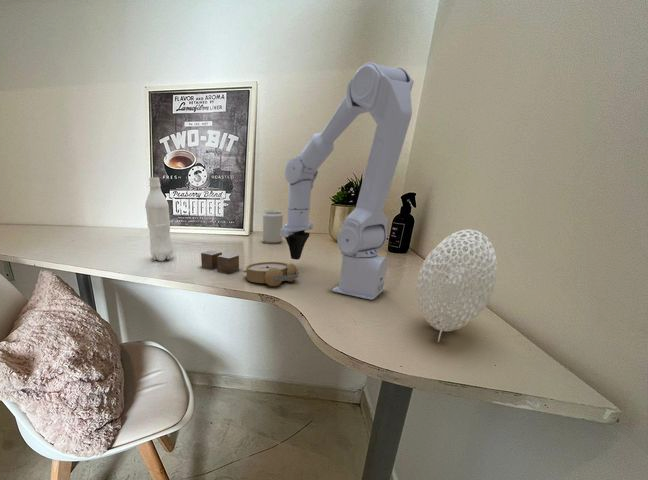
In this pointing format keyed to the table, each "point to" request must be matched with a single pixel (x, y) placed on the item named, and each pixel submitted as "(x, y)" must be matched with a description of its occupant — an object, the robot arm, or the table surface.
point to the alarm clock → (271, 273)
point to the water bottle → (158, 222)
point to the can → (272, 226)
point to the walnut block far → (210, 259)
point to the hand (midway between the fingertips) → (295, 258)
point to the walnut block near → (228, 263)
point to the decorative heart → (456, 280)
